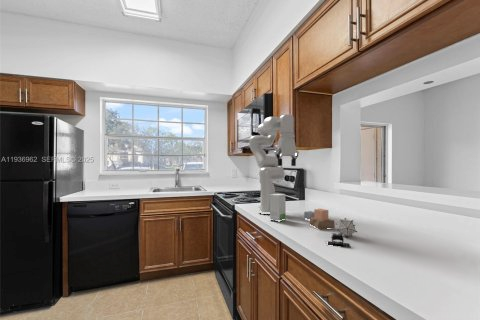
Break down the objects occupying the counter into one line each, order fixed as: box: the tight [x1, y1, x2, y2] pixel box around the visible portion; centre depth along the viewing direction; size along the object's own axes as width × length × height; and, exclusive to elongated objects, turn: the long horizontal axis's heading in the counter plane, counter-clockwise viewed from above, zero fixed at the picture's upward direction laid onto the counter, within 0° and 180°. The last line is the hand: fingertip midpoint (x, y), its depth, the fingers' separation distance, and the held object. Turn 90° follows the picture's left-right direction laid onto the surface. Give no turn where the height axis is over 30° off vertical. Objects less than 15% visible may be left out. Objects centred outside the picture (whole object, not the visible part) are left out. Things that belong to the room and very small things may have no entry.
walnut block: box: [309, 218, 335, 230], centre depth 121 cm, size 9×9×4 cm
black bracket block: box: [327, 232, 352, 249], centre depth 94 cm, size 12×7×5 cm, turn 72°
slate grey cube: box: [303, 210, 314, 219], centre depth 136 cm, size 5×5×5 cm
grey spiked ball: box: [335, 217, 358, 239], centre depth 105 cm, size 9×8×10 cm
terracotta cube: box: [313, 208, 329, 221], centre depth 121 cm, size 5×5×5 cm
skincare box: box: [269, 193, 287, 220], centre depth 135 cm, size 8×7×16 cm
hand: (286, 165), depth 131 cm, fingers open, 9 cm apart
